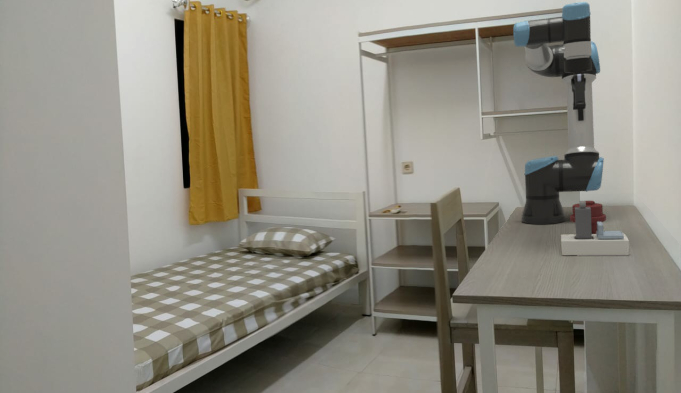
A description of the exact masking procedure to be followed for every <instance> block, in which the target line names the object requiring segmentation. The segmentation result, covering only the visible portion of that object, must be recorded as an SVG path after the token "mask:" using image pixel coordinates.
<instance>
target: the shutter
mask: <svg viewBox="0 0 681 393" xmlns="http://www.w3.org/2000/svg"><path fill="white" fill-rule="evenodd" d="M596 234H597V237H598V239H619V238H624V235H623V234H624V233H623V231H622V230H604V224H603V222H597V231H596Z"/></svg>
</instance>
